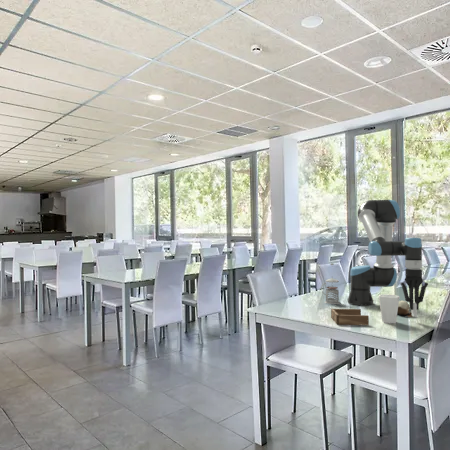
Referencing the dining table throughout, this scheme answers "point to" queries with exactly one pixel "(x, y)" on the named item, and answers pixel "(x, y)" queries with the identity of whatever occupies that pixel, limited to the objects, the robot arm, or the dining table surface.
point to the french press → (332, 290)
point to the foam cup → (389, 307)
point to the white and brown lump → (404, 309)
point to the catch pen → (349, 317)
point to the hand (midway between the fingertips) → (414, 316)
